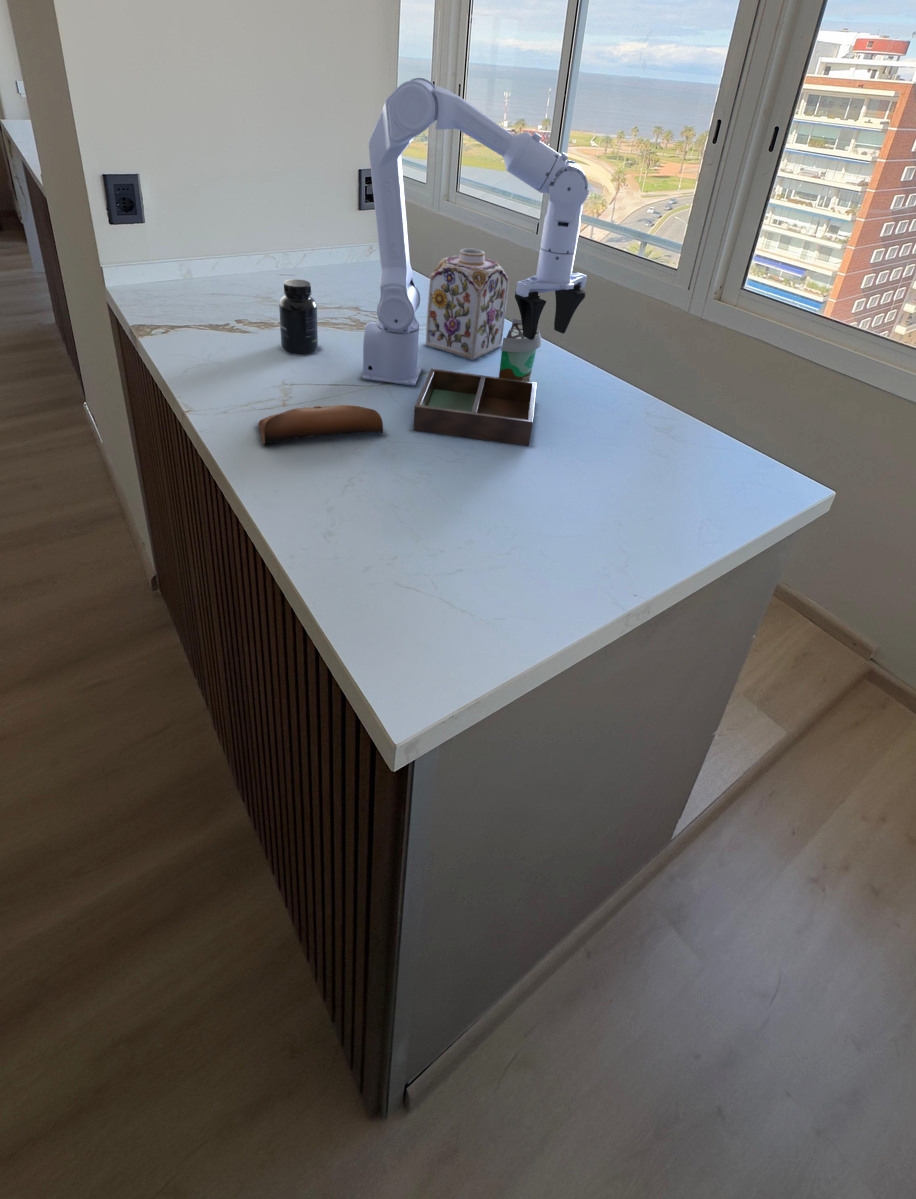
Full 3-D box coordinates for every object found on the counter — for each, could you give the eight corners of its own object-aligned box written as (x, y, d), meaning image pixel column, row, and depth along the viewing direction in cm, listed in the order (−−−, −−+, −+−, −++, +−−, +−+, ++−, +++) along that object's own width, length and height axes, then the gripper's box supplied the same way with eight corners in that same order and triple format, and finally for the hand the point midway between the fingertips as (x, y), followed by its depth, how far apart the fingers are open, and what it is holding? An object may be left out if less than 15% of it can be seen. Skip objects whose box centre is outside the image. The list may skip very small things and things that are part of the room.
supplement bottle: (274, 350, 136) (269, 283, 129) (294, 339, 141) (290, 274, 134) (306, 358, 135) (303, 290, 127) (325, 347, 140) (323, 281, 132)
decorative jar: (473, 361, 141) (483, 262, 130) (423, 346, 145) (429, 248, 134) (503, 346, 149) (515, 252, 138) (455, 332, 153) (463, 239, 142)
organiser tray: (413, 430, 115) (414, 406, 112) (429, 390, 128) (430, 368, 125) (528, 446, 114) (532, 422, 111) (533, 404, 127) (536, 382, 124)
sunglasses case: (368, 411, 117) (374, 385, 111) (378, 448, 115) (386, 424, 109) (254, 420, 111) (255, 393, 105) (263, 460, 109) (264, 435, 103)
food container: (529, 401, 128) (538, 344, 122) (495, 395, 129) (502, 338, 122) (538, 376, 138) (546, 322, 131) (506, 371, 138) (513, 317, 132)
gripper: (543, 259, 111) (530, 348, 119) (606, 252, 119) (589, 335, 127) (512, 248, 115) (501, 335, 123) (574, 241, 123) (560, 323, 131)
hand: (544, 334), depth 125 cm, fingers open, 7 cm apart
